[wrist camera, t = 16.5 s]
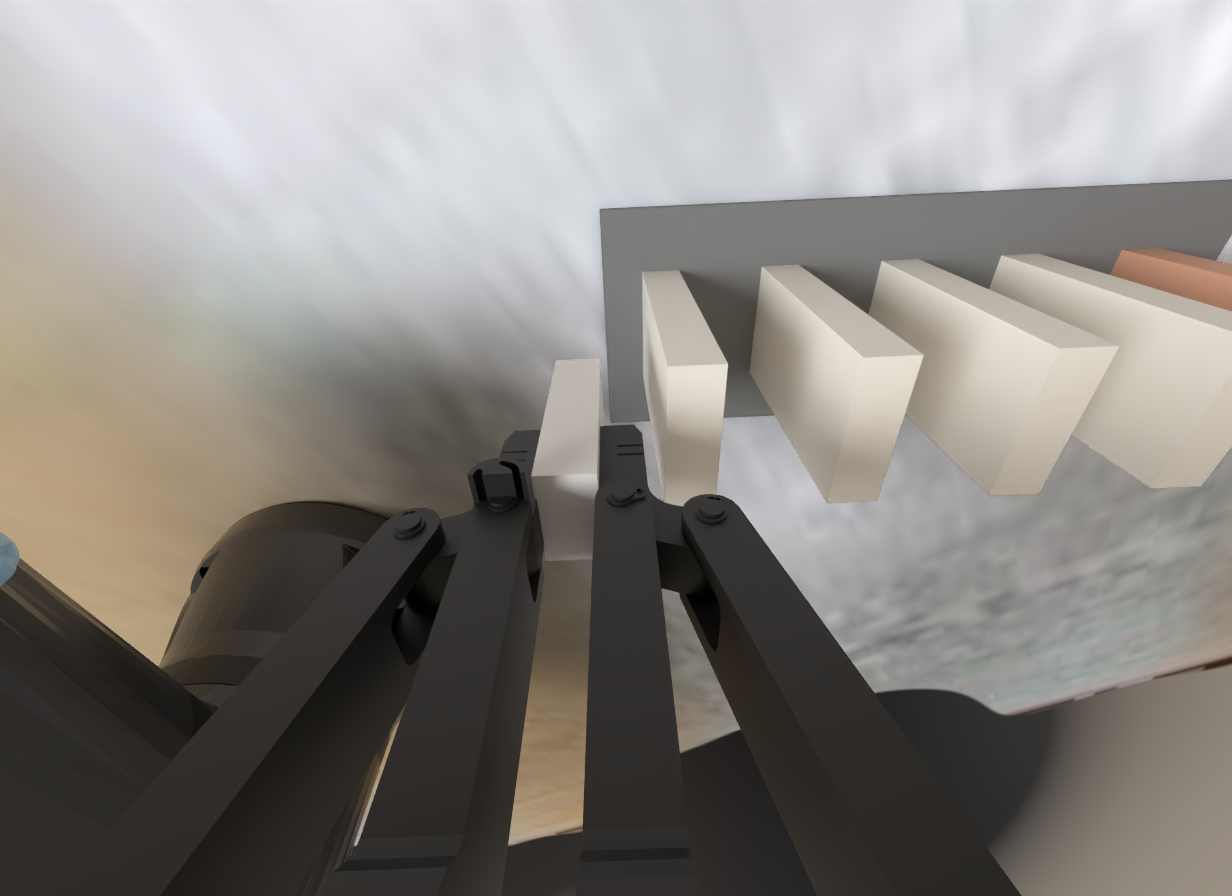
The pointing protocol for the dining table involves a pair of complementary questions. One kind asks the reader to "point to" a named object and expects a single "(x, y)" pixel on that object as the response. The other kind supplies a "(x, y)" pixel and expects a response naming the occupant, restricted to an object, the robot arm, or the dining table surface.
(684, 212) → the mat
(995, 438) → the domino
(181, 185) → the dining table surface
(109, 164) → the dining table surface
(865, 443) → the domino
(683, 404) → the domino
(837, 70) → the dining table surface
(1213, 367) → the domino
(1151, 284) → the end domino
